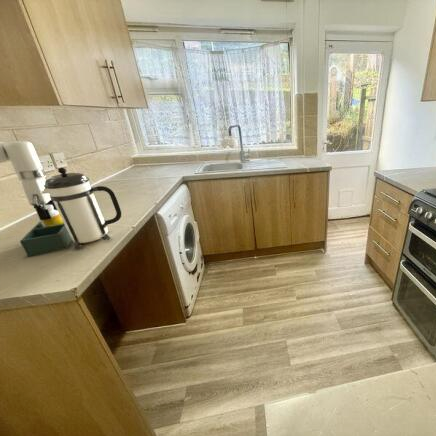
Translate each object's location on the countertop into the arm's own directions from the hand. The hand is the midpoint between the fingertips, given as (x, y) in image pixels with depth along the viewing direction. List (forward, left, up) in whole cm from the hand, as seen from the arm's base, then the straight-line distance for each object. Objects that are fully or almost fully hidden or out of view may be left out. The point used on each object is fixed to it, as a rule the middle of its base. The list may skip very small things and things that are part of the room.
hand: (50, 215), depth 101 cm
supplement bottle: (0, 0, -9) cm, 9 cm away
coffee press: (+15, -12, -10) cm, 22 cm away
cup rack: (0, -5, -10) cm, 11 cm away
